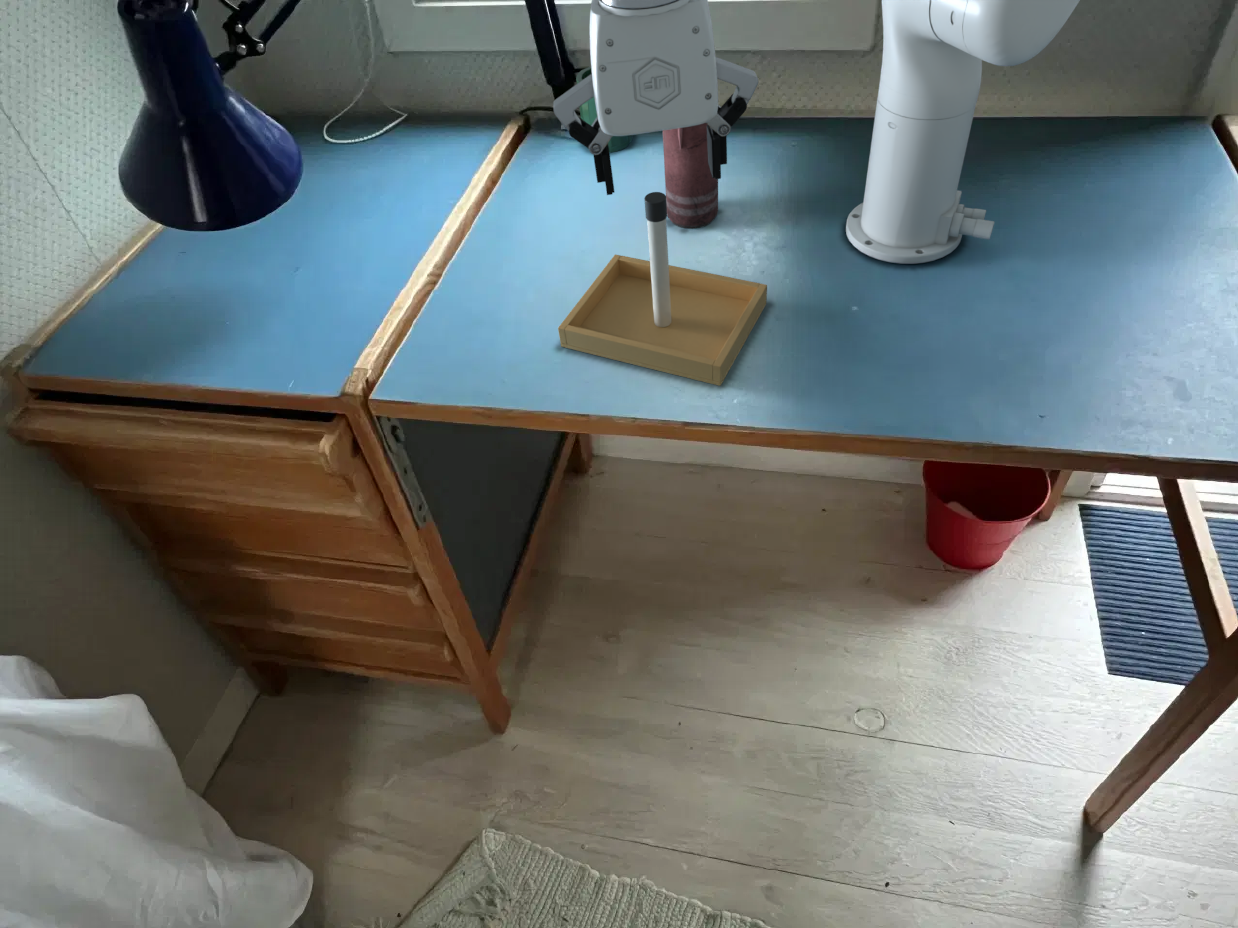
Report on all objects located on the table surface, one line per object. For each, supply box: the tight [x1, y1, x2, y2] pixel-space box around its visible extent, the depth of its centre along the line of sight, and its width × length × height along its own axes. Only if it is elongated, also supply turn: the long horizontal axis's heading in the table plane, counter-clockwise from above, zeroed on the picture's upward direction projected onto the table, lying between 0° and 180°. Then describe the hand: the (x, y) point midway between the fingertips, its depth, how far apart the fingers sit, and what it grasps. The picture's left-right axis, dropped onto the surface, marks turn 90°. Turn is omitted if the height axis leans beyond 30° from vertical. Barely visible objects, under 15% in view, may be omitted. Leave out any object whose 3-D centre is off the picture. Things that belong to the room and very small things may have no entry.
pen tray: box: [557, 253, 768, 387], centre depth 90 cm, size 18×14×2 cm
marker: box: [644, 191, 671, 327], centre depth 86 cm, size 2×2×14 cm
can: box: [662, 123, 719, 230], centre depth 100 cm, size 6×6×14 cm
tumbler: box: [575, 65, 633, 154], centre depth 116 cm, size 7×7×9 cm
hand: (661, 179), depth 79 cm, fingers open, 9 cm apart
